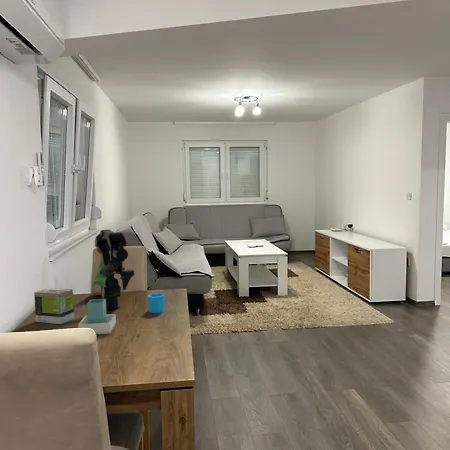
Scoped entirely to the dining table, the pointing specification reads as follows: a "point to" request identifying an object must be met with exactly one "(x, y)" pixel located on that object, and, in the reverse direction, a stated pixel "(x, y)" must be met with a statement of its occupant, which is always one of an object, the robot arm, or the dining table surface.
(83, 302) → the dining table surface
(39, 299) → the tea box
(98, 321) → the teal crate
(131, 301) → the dining table surface
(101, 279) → the decorative tree
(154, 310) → the mug
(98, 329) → the white crate
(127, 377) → the dining table surface
